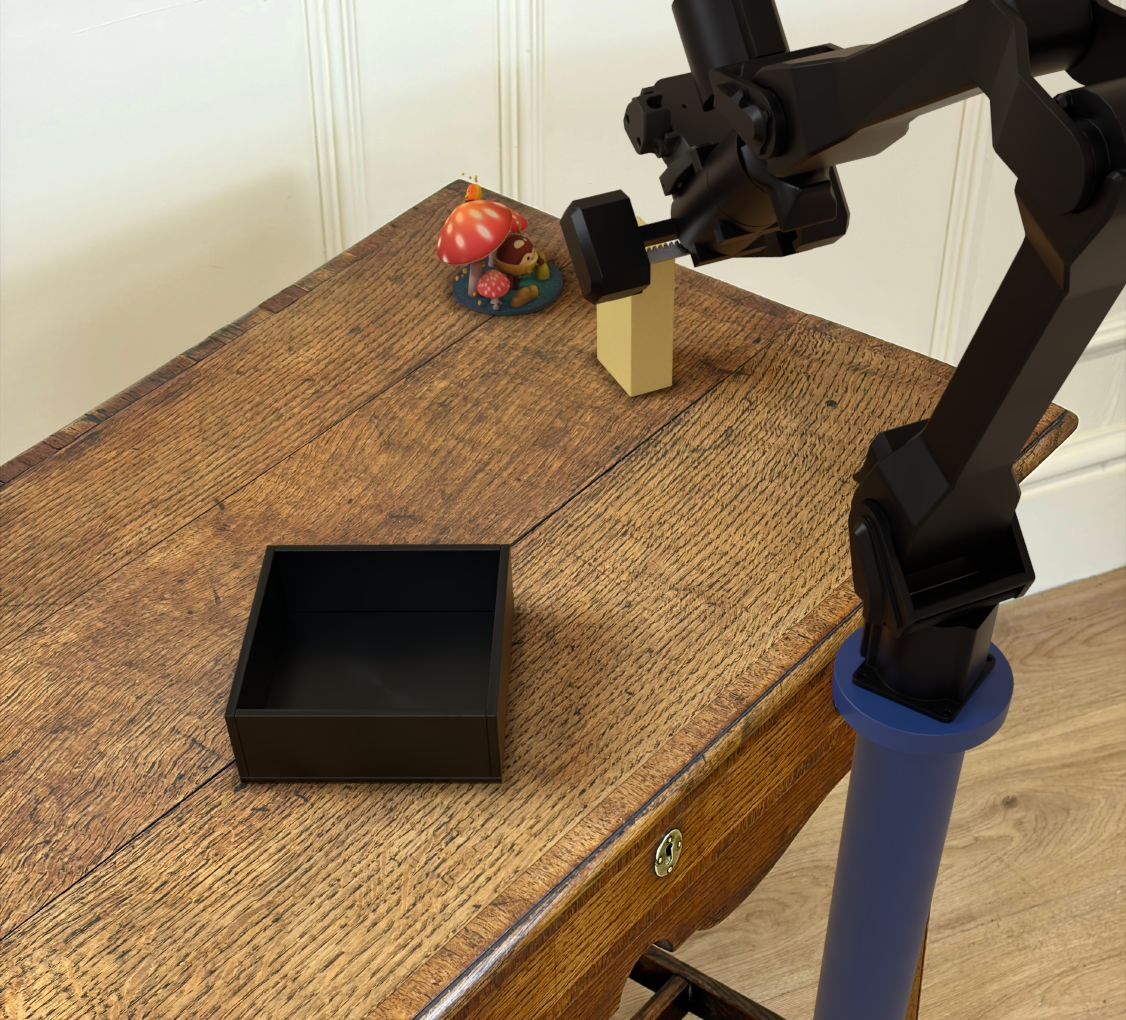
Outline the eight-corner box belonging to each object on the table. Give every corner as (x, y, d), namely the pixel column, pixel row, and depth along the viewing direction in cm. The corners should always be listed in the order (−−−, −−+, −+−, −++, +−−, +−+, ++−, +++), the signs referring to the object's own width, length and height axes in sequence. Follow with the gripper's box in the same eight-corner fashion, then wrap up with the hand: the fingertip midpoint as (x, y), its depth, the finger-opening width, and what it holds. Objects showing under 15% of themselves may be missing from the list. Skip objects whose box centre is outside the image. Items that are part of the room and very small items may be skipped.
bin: (514, 611, 101) (510, 543, 97) (502, 783, 91) (496, 715, 87) (280, 611, 102) (266, 544, 98) (240, 783, 91) (223, 716, 87)
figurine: (542, 330, 125) (538, 230, 119) (430, 317, 127) (420, 218, 121) (578, 256, 133) (576, 159, 127) (472, 245, 135) (465, 149, 129)
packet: (637, 348, 123) (638, 215, 115) (672, 386, 119) (675, 251, 111) (596, 358, 122) (595, 226, 114) (630, 397, 118) (631, 263, 110)
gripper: (846, 19, 96) (748, 124, 111) (568, 78, 91) (505, 180, 106) (899, 196, 97) (795, 277, 112) (626, 264, 92) (555, 339, 107)
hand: (664, 264), depth 109 cm, fingers open, 9 cm apart
